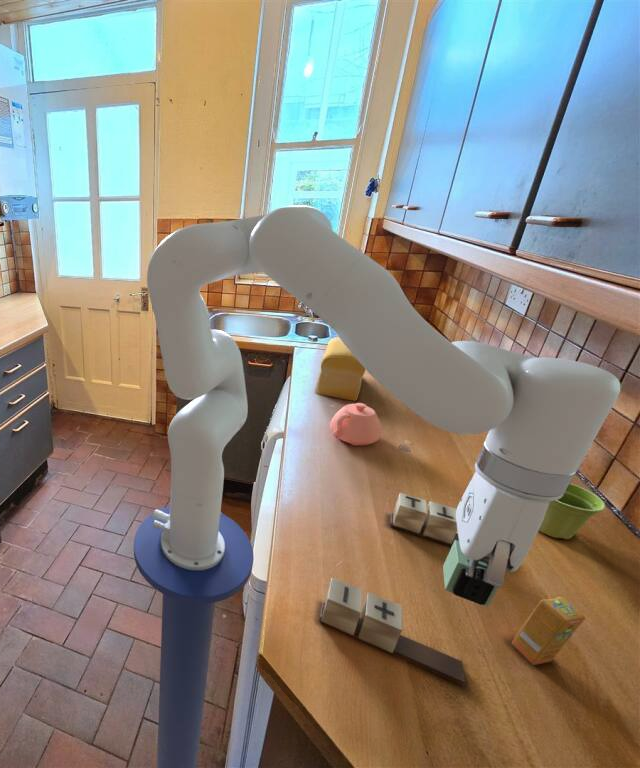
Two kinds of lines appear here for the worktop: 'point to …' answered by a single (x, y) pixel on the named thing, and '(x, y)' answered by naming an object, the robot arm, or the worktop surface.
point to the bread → (340, 372)
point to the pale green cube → (459, 568)
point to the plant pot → (570, 512)
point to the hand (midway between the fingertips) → (465, 582)
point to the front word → (383, 629)
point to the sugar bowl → (356, 424)
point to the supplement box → (547, 630)
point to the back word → (425, 519)
